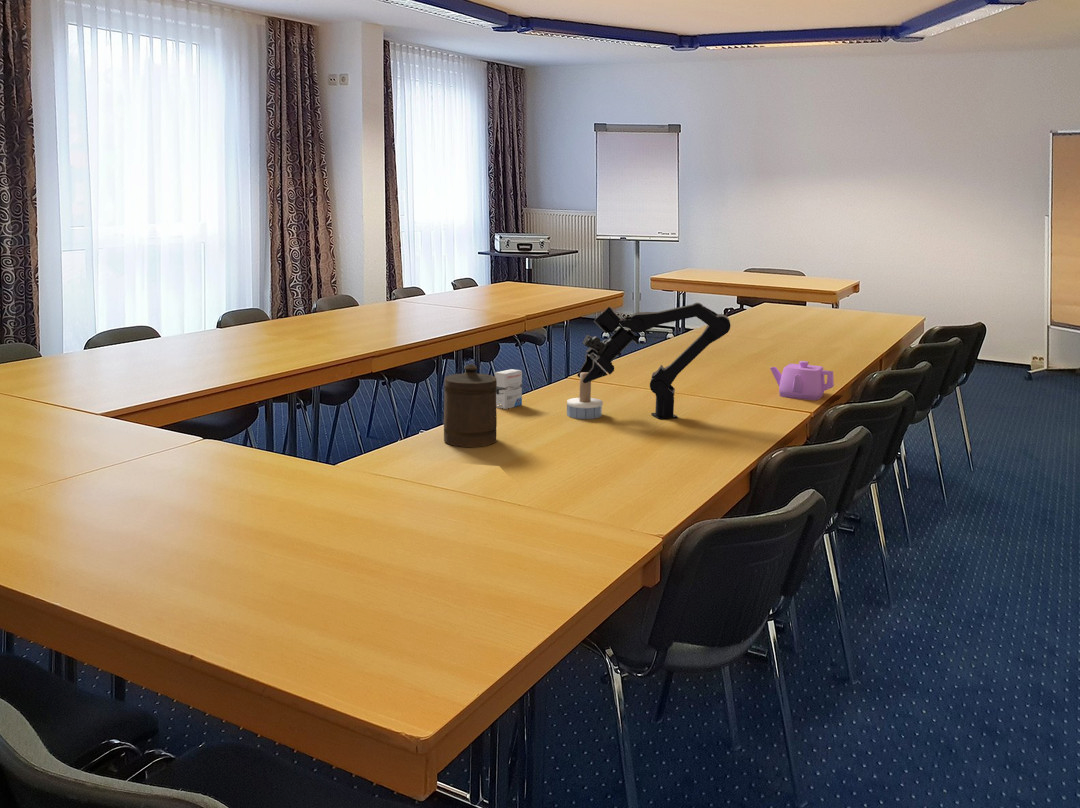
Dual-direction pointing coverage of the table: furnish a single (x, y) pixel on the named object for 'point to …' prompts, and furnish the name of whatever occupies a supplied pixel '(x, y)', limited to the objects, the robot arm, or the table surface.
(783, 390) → the teakettle
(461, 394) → the wooden container
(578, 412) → the bowl
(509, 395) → the ink box
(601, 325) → the robot arm
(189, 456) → the table surface
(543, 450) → the table surface
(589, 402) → the lid
